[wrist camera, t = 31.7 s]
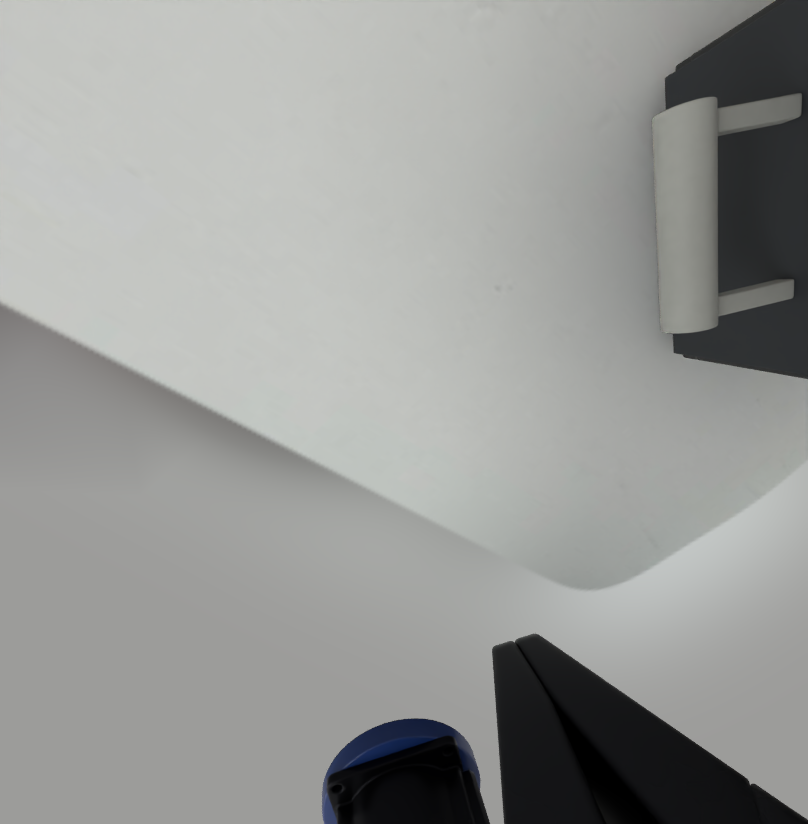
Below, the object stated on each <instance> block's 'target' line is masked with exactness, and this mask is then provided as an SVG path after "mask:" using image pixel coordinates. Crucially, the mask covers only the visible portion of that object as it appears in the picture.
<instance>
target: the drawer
mask: <svg viewBox="0 0 808 824" xmlns="http://www.w3.org/2000/svg"><path fill="white" fill-rule="evenodd" d="M665 96H666V110H665V111H663V112H661V113H659V114H657V115H656V116H655V117H653V119H652V133H653V158H654V183H655V208H656V232H657V257H658V282H659V307H660V330H661V331H662V332H664V333H672V334H673V343H674V353H677V354H683V355H689V356H695V357H701V358H707V359H713V360H719V361H725V362H731V363H737V364H743V365H749V366H755V367H761V368H767V369H773V370H779V371H785V372H791V373H797V374H803V375H808V0H787V1H785V2H783V3H782V4H780V5H779V6H777V7H776V8H774V9H772V10H771V11H769V12H768V13H766V14H765V15H763V16H762V17H760V18H758V19H757V20H755V21H754V22H752V23H751V24H749V25H747V26H746V27H744V28H743V29H741V30H740V31H738V32H736V33H735V34H733V35H732V36H730V37H729V38H727V39H725V40H724V41H722V42H721V43H719V44H718V45H716V46H715V47H713V48H711V49H710V50H708V51H707V52H705V53H704V54H702V55H700V56H699V57H697V58H696V59H694V60H693V61H691V62H689V63H688V64H686V65H685V66H683V67H682V68H680V69H678V70H677V71H675V72H674V73H672V74H671V75H669V76H668V77H666V78H665Z"/></svg>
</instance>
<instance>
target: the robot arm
mask: <svg viewBox="0 0 808 824" xmlns="http://www.w3.org/2000/svg"><path fill="white" fill-rule="evenodd" d="M492 655H493V670H494V683H495V698H496V713H497V727H498V740H499V755H500V770H501V784H502V798H503V813H504V824H808V820H807V819H806V818H804V817H802V816H801V815H800V814H798V813H797V812H795V811H794V810H792V809H791V808H789V807H788V806H786V805H785V804H783V803H782V802H780V801H779V800H778V799H776V798H775V797H773V796H771V795H770V794H769V793H767V792H766V791H764V790H763V789H762V788H760V787H759V786H757V785H756V784H751V785H750V784H749V781H748V779H747V778H745V777H744V776H743V775H741V774H740V773H738V772H737V771H735V770H734V769H732V768H731V767H729V766H728V765H727V764H725V763H724V762H722V761H721V760H719V759H718V758H716V757H715V756H714V755H712V754H711V753H709V752H708V751H706V750H705V749H703V748H702V747H700V746H699V745H698V744H696V743H695V742H693V741H692V740H690V739H689V738H688V737H686V736H685V735H683V734H682V733H680V732H679V731H677V730H676V729H674V728H673V727H672V726H670V725H669V724H667V723H666V722H664V721H663V720H661V719H660V718H658V717H657V716H656V715H654V714H653V713H651V712H650V711H648V710H647V709H646V708H644V707H642V706H641V705H640V704H638V703H637V702H635V701H634V700H633V699H631V698H630V697H628V696H627V695H625V694H624V693H622V692H621V691H619V690H618V689H617V688H615V687H614V686H612V685H611V684H609V683H608V682H606V681H605V680H604V679H602V678H601V677H599V676H598V675H596V674H595V673H593V672H592V671H591V670H589V669H588V668H586V667H585V666H583V665H582V664H580V663H579V662H578V661H576V660H575V659H573V658H572V657H570V656H569V655H567V654H566V653H564V652H563V651H562V650H560V649H559V648H557V647H556V646H554V645H553V644H551V643H550V642H549V641H547V640H546V639H544V638H543V637H541V636H540V635H538V634H531V635H528V636H525V637H522V638H519V639H517V640H516V641H515V643H514V642H513V641H509V642H506V643H503V644H499V645H496V646H494V647H493V649H492ZM327 794H328V797H329V800H330V803H331V805H332V808H333V811H334V814H335V817H336V819H337V824H490V822H489V819H488V816H487V813H486V809H485V806H484V803H483V800H482V796H481V793H480V790H479V787H478V784H477V780H476V777H475V774H474V772H472V771H471V770H469V769H468V770H465V771H463V766H462V762H461V758H460V753H459V749H458V745H457V742H456V739H455V738H454V737H453V736H449V735H448V736H444V737H441V738H438V739H435V740H431V741H428V742H425V743H422V744H419V745H416V746H413V747H410V748H407V749H404V750H401V751H398V752H395V753H392V754H389V755H386V756H383V757H380V758H377V759H374V760H371V761H368V762H365V763H362V764H359V765H356V766H353V767H350V768H347V769H344V770H341V771H338V772H335V773H333V774H331V775H330V776H329V777H328V778H327Z"/></svg>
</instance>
